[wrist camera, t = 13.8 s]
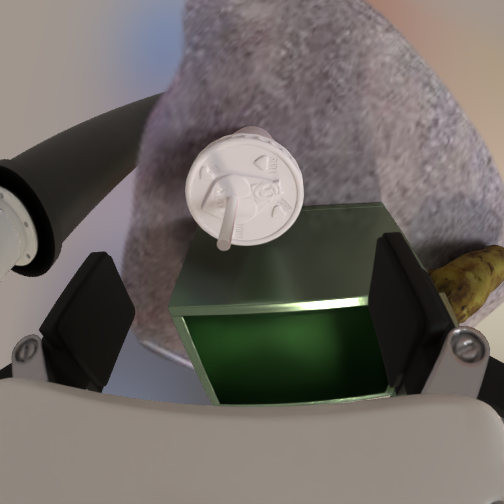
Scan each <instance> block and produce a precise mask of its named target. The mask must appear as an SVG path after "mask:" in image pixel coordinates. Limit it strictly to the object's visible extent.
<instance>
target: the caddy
mask: <svg viewBox="0 0 504 504" xmlns="http://www.w3.org/2000/svg"><path fill="white" fill-rule="evenodd" d="M388 232H400V233H401V234H402V236H403V237H404V239H405V240H406V242H407V244H408V245H409V247H410V249H411V250H412V252H413V254H414V256H415V257H416V259H417V261H418V263H419V264H420V266H421V268H422V269H424V270H426V269H425V268H424V266H423V264H422V263H421V261H420V259H419V258H418V256H417V255H416V253H415V251H414V250H413V248H412V247H411V245H410V243H409V242H408V240H407V239H406V237H405V236H404V234H403V233H402V231H401V230H400V228H399V227H398V225H397V224H396V222H395V221H394V219H393V218H392V216H391V215H390V213H389V212H388V211H387V209H386V208H385V206H384V205H383V203H382V202H380V203H357V204H337V205H320V206H304V207H302V208H301V211H300V213H299V215H298V217H297V219H296V220H295V222H294V223H293V224H292V226H291V227H290V228H289V229H288V230H287V231H286V232H284V233H283V234H282V235H280V236H279V237H277V238H275V239H273V240H271V241H269V242H266V243H262V244H258V245H249V246H243V245H234V244H231V245H230V248H229V249H228V250H225V251H223V250H220V249H219V248H218V247H217V241H218V239H216V238H215V237H213V236H211V235H210V234H208V233H207V232H206V231H204V230H203V229H202V228H201V227H200V226H199V225H197V228H196V231H195V233H194V236H193V239H192V241H191V244H190V247H189V249H188V252H187V255H186V257H185V260H184V263H183V265H182V268H181V271H180V274H179V277H178V279H177V282H176V285H175V288H174V291H173V294H172V297H171V299H170V302H169V305H168V309H169V312H170V314H171V317H172V320H173V322H174V324H175V327H176V329H177V331H178V334H179V336H180V338H181V340H182V343H183V345H184V347H185V349H186V352H187V354H188V356H189V358H190V360H191V362H192V365H193V367H194V369H195V371H196V373H197V375H198V377H199V379H200V381H201V383H202V386H203V387H204V390H205V391H206V394H207V396H208V397H209V399H210V402H211V403H212V405H213V406H230V407H283V406H306V405H321V404H333V403H343V402H351V401H358V400H365V399H372V398H378V397H383V396H389V395H391V394H392V392H393V390H394V388H395V387H393V388H391V387H390V386H389V383H388V378H387V374H386V370H385V366H384V362H383V358H382V354H381V350H380V346H379V343H378V339H377V335H376V332H375V328H374V325H373V321H372V318H371V314H370V311H369V307H368V295H369V290H370V284H371V278H372V271H373V265H374V258H375V251H376V243H377V239H378V238H379V237H382V235H383V233H388ZM426 272H427V271H426ZM432 282H433V281H432ZM433 284H434V283H433Z"/></svg>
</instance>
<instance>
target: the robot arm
mask: <svg viewBox="0 0 504 504" xmlns="http://www.w3.org/2000/svg"><path fill="white" fill-rule="evenodd" d="M38 244H39V240H38V233H37V229H36V225H35V223H34V220H33V218H32V216H31V214H30V212H29V210H28V209H27V207H26V206H25V204H24V203H23V201H22V200H21V199H20V198H19V197H18V196H17V195H16V194H15V193H14V192H13V191H11V190H9V189H8V188H6V187H3V186H0V281H1V280H2V279H3V278H4V277H5V275H6V274H7V273H8V272H9V270H10V269H11V268H12V267H13V266H14V265H20V266H23V265H27V264H28V263H30V262H31V261H32V260H33V259H34V257H35V256H36V254H37V251H38ZM368 307H369V311H370V314H371V318H372V321H373V325H374V328H375V332H376V335H377V339H378V343H379V346H380V350H381V354H382V358H383V362H384V366H385V370H386V374H387V378H388V383H389V386H390V387H391V388H393V387H395V392H396V396H397V397H389V398H380V399H373V400H364V401H355V402H345V403H333V404H321V405H306V406H283V407H230V406H206V405H190V404H179V403H167V402H159V401H150V400H142V399H136V398H128V397H122V396H116V395H110V394H104V393H102V390H103V387H104V386H106V385H107V383H108V381H109V378H110V375H111V372H112V370H113V367H114V365H115V363H116V360H117V357H118V355H119V352H120V350H121V348H122V345H123V343H124V340H125V338H126V335H127V333H128V331H129V328H130V326H131V324H132V321H133V319H134V316H135V308H134V305H133V303H132V301H131V299H130V297H129V295H128V293H127V291H126V289H125V286H124V284H123V282H122V280H121V278H120V275H119V273H118V271H117V269H116V266H115V264H114V262H113V259H112V257H111V256H109V255H108V254H107V253H106V252H93V253H91V254H90V255H89V256H88V257H87V258H86V260H85V261H84V263H83V264H82V265H81V267H80V268H79V269H78V271H77V272H76V274H75V275H74V277H73V278H72V279H71V281H70V282H69V284H68V285H67V287H66V288H65V289H64V291H63V292H62V294H61V295H60V297H59V298H58V300H57V301H56V303H55V304H54V306H53V308H52V309H51V311H50V312H49V314H48V316H47V317H46V319H45V320H44V322H43V324H42V325H41V327H40V329H39V331H40V332H41V334H42V335H43V338H42V340H41V339H40V337H39V336H37V335H34V334H32V335H28V336H25V337H24V338H22V339H21V340H20V341H19V342H18V343H17V344H16V346H15V347H14V349H13V352H12V363H11V364H9V365H7V366H6V367H4V368H3V369H1V370H0V504H504V363H502V362H500V361H498V360H497V359H495V358H493V357H491V356H490V347H489V343H488V341H487V340H486V338H485V336H484V335H483V334H482V333H481V332H480V331H478V330H476V329H475V328H472V327H468V326H460V327H455V325H454V323H453V321H452V319H451V316H450V314H449V312H448V310H447V308H446V306H445V304H444V303H443V301H442V299H441V297H440V295H439V293H438V291H437V289H436V287H435V285H434V284H433V282H432V280H431V278H430V276H429V275H428V273H427V272H426V270H424V269H422V268H421V266H420V264H419V263H418V261H417V259H416V257H415V256H414V254H413V252H412V250H411V249H410V247H409V245H408V244H407V242H406V240H405V239H404V237H403V236H402V234H401V233H400V232H388V233H383V235H382V237H379V238H378V239H377V243H376V251H375V258H374V265H373V271H372V278H371V284H370V290H369V295H368ZM86 389H88V390H86ZM404 394H407V395H405V396H399V395H404Z"/></svg>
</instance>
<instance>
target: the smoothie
mask: <svg viewBox="0 0 504 504" xmlns="http://www.w3.org/2000/svg"><path fill="white" fill-rule="evenodd" d="M185 194H186V201H187V205H188V208H189V210H190V213H191V215H192V216H193V218H194V219H195V221H196V222H197V223H198V225H199V226H200V227H201V228H202V229H203V230H204V231H206V232H207V233H208V234H210V235H211V236H213V237H215V238H216V239H218V241H217V247H218V248H219V249H220V250H223V251H225V250H228V249H229V248H230V245H231V244H234V245H243V246H249V245H258V244H262V243H266V242H269V241H271V240H273V239H275V238H277V237H279V236H280V235H282V234H283V233H284V232H286V231H287V230H288V229H289V228H290V227H291V226H292V224H293V223H294V222H295V220H296V219H297V217H298V215H299V213H300V211H301V208H302V204H303V197H304V187H303V179H302V173H301V171H300V169H299V167H298V164H297V162H296V160H295V159H294V158H293V157H292V155H291V154H290V153H289V152H288V151H287V149H286V148H284V147H283V146H281V145H280V144H278V143H277V142H275V141H274V140H273V138H272V137H271V136H270V134H269V133H268V132H267V131H265V130H264V129H262V128H259V127H255V126H248V127H244V128H241V129H239V130H238V131H236V132H235V133H234V134H232V135H227V136H224V137H222V138H220V139H218V140H216V141H214V142H212V143H210V144H209V145H208V146H207V147H206V148H204V149H203V150H202V151H201V152H200V153H199V154H198V156H197V158H196V159H195V161H194V162H193V164H192V166H191V169H190V171H189V173H188V176H187V180H186V186H185Z"/></svg>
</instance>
